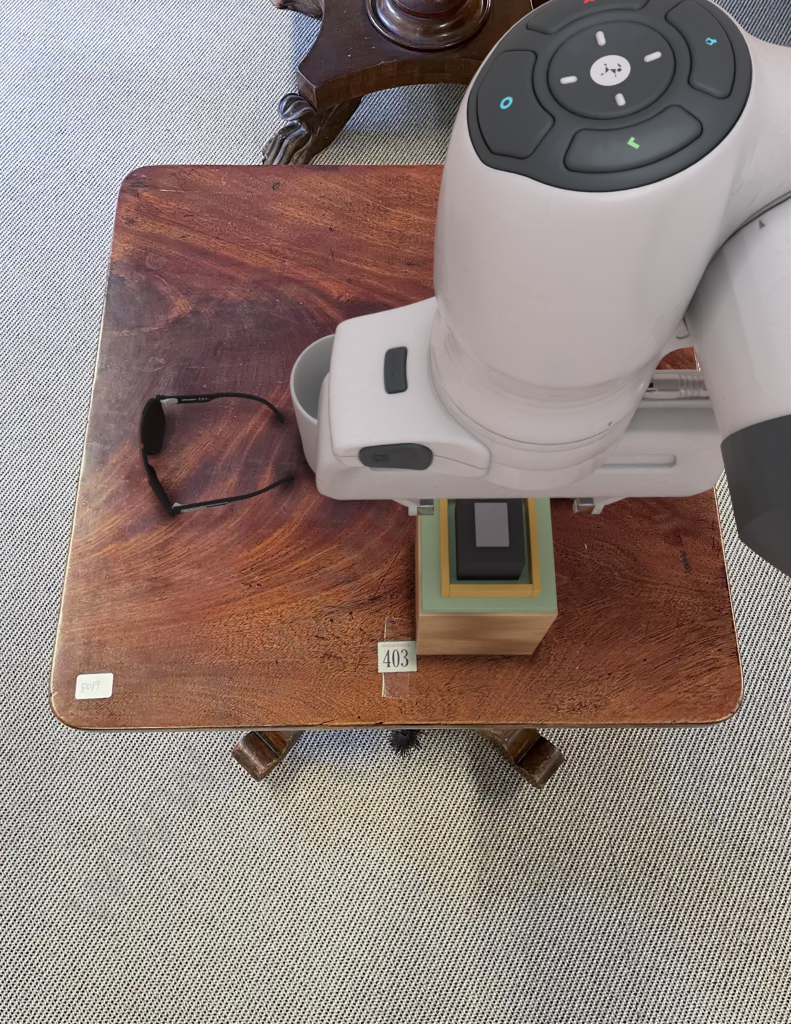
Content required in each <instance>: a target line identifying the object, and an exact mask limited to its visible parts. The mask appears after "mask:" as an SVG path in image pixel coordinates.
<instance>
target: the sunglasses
mask: <svg viewBox="0 0 791 1024" xmlns="http://www.w3.org/2000/svg"><path fill="white" fill-rule="evenodd" d="M219 398H240V399H248V400H251V401H252V400H253V401H256V402H260V403H262V404H264V405H265V406H267V407H268V408H269V409H270V410H271V411H272V412H273V413H274V415H275V417H276V419H277V420H278V421H279V422H284V420H285V417H284V416H283V414H282V412H280V410H279V409H278V408H276V406H275V405H274V404H272V403H271V402H270V401H269V400H267V399H265V398H263V397H261V396H257V395H254V394H250V393H245V392H235V391H233V392H230V391H229V392H227V391H226V392H214V393H204V394H181V395H179V394H178V395H164V394H156V395H155V397H151V398H149V399H148V401H146V403H145V405H144V407H143V409H142V411H141V414H140V418H139V423H138V431H137V432H138V436H137V437H138V448H139V456H140V463H141V467H142V470H143V474H144V476H145V479H146V481H147V482H148V484H149V486H150V488H151V490H152V491H153V493H154V495H155V496H156V497H157V499H158V500H159V502H160V503H161V505H162V506H163V508H164V509H165V510H166V511H167V513H168V514H169V515H170V516H171V518H173V519H174V518H175V517H176V516H177V515H181V514H182V515H183V514H185V513H190V512H194V511H201V510H206V509H212V508H213V509H214V508H218V507H223V506H226V505H228V504H230V503H233V502H237V501H243V500H247V499H251V498H254V497H257V496H259V495H262V494H264V493H266V492H268V491H270V490H272V489H274V488H276V487H278V486H280V485H282V484H285V483H288V484H289V483H290V482H292V481H293V479H294V478H295V475H293V474H290V475H287V476H286V477H283V478H280V479H278V480H277V481H275V482H273V483H271V484H269V485H268V486H265V487H263V488H260V489H259V490H256V491H253V492H250V493H246V494H242V495H241V494H240V495H236V496H229V497H222V498H218V499H216V498H215V499H211V500H205V501H204V500H203V501H199V502H194V503H186V504H180V503H178V502H174V503H173V505H172V504H171V503H172V502H171V501H170V499H169V497H168V494H167V492H166V490H165V488H164V486H163V485H162V483H161V481H160V480H159V478H158V474H157V471H156V469H155V468H154V466H153V465H151V464H150V463H149V458H148V457H150V456H157V455H158V454H159V453H160V452H161V451H162V447H163V443H164V436H165V430H166V423H167V420H166V419H167V418H166V414H165V411H164V408H163V406H164V407H165V408H166V407H167V406H169V405H182V404H183V405H186V404H204V403H210V402H211V401H213V400H215V399H219Z"/></svg>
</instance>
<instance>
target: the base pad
mask: <svg viewBox="0 0 791 1024" xmlns="http://www.w3.org/2000/svg"><path fill="white" fill-rule="evenodd" d="M455 505H456V499H434V515H424V516H421V570H422V612H555V611H556V609H558V597H557V598H556V595H557V585H556V584H555V581H556V570H554V567H555V555H554V556H553V553H554V541H553V542H552V539H553V527H552V528H551V525H552V513H551V514H550V511H551V499H550V500H549V498H522V507H523V524H524V541H525V558H526V564H525V566H524V569H523V571H522V573H521V575H520V578H519V580H457V572H456V536H455Z"/></svg>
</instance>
